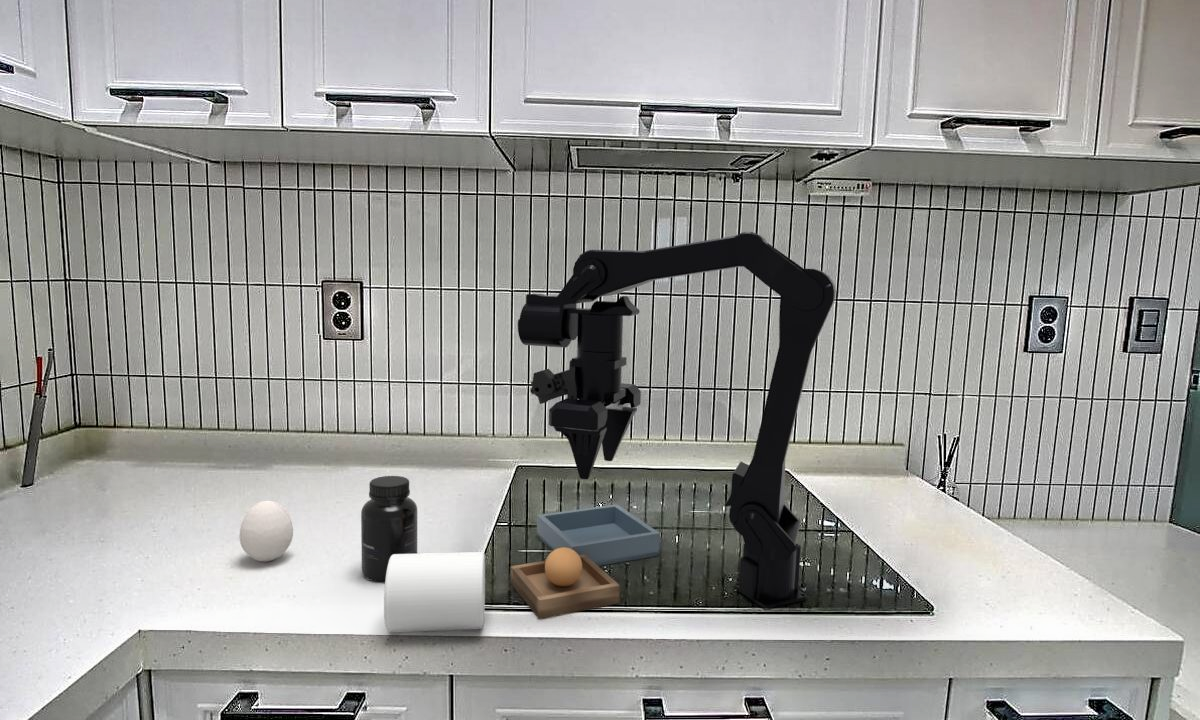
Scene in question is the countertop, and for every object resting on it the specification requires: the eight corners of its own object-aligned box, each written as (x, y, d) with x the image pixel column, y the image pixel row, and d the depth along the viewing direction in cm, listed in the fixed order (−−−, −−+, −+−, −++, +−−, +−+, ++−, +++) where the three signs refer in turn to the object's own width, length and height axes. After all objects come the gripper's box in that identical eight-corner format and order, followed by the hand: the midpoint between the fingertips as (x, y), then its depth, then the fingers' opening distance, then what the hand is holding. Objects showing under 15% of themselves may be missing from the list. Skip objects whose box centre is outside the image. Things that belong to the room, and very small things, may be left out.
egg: (284, 546, 99) (282, 490, 98) (301, 561, 94) (299, 502, 93) (234, 558, 95) (231, 500, 94) (249, 574, 90) (247, 513, 89)
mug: (482, 643, 75) (482, 569, 74) (384, 647, 74) (382, 572, 73) (486, 591, 87) (486, 528, 86) (401, 594, 86) (400, 530, 85)
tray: (584, 570, 93) (584, 554, 93) (619, 603, 85) (619, 585, 84) (510, 583, 89) (510, 566, 89) (539, 619, 80) (539, 600, 80)
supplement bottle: (352, 581, 89) (349, 486, 87) (376, 559, 95) (374, 471, 94) (405, 585, 88) (404, 490, 86) (426, 563, 95) (425, 474, 93)
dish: (616, 524, 110) (617, 504, 110) (659, 555, 99) (659, 533, 98) (536, 536, 105) (537, 515, 104) (572, 570, 93) (572, 547, 93)
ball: (572, 575, 90) (573, 540, 89) (587, 589, 86) (589, 552, 85) (538, 580, 88) (539, 544, 87) (552, 594, 84) (553, 557, 83)
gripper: (568, 340, 103) (566, 446, 105) (509, 353, 86) (508, 481, 87) (643, 344, 99) (639, 455, 101) (597, 359, 82) (594, 492, 84)
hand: (596, 469), depth 94 cm, fingers open, 9 cm apart
